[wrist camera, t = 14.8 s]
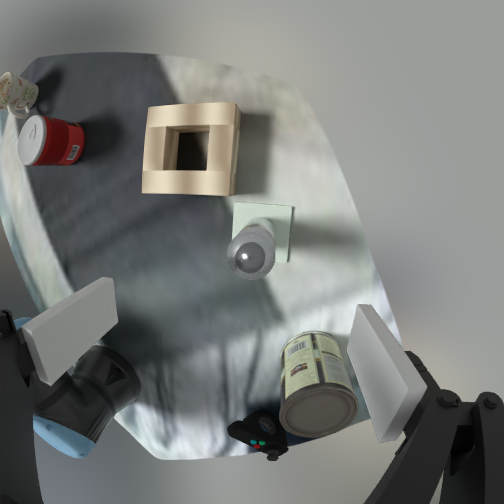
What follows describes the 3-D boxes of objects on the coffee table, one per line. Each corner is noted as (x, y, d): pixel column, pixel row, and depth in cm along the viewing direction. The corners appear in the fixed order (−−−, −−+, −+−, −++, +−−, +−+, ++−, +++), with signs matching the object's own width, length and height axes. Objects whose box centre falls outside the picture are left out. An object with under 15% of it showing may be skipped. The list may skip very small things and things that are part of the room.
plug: (243, 246, 39) (223, 280, 24) (245, 215, 38) (225, 231, 23) (274, 249, 39) (273, 285, 24) (277, 218, 38) (277, 235, 23)
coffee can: (317, 385, 44) (326, 444, 30) (269, 365, 44) (264, 425, 30) (352, 345, 42) (374, 401, 28) (301, 320, 41) (310, 376, 28)
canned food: (86, 118, 37) (45, 107, 26) (87, 160, 38) (43, 158, 28) (58, 130, 37) (18, 124, 27) (59, 169, 39) (17, 170, 29)
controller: (278, 430, 48) (276, 467, 38) (229, 406, 47) (220, 443, 37) (291, 421, 47) (292, 458, 37) (242, 395, 46) (234, 434, 36)
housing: (157, 191, 39) (141, 193, 34) (163, 115, 36) (148, 107, 31) (235, 194, 38) (228, 195, 33) (241, 112, 35) (235, 102, 30)
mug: (38, 74, 35) (8, 65, 25) (50, 104, 36) (16, 96, 27) (18, 101, 36) (-11, 96, 27) (29, 133, 38) (-4, 131, 28)
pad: (231, 257, 40) (231, 257, 39) (234, 201, 38) (234, 202, 38) (286, 261, 39) (286, 262, 39) (291, 206, 37) (292, 206, 37)
